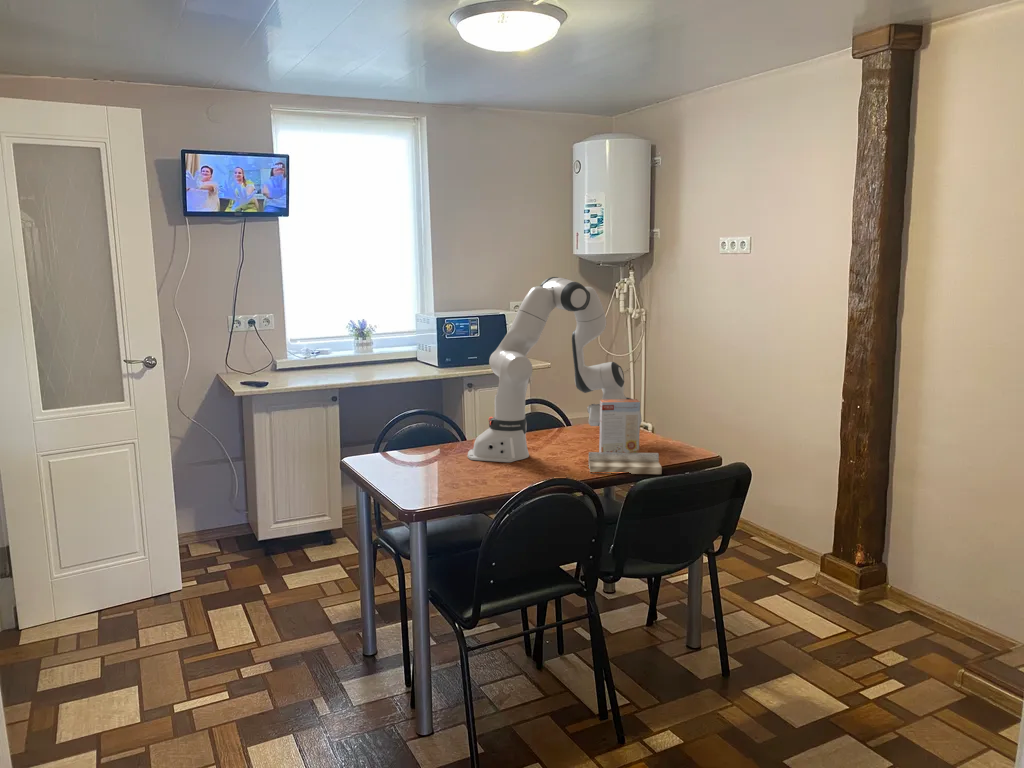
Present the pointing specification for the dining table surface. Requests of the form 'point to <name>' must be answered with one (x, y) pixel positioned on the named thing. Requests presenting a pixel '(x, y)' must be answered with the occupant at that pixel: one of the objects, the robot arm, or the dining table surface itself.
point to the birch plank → (626, 467)
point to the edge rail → (623, 456)
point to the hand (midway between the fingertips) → (615, 434)
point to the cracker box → (619, 425)
